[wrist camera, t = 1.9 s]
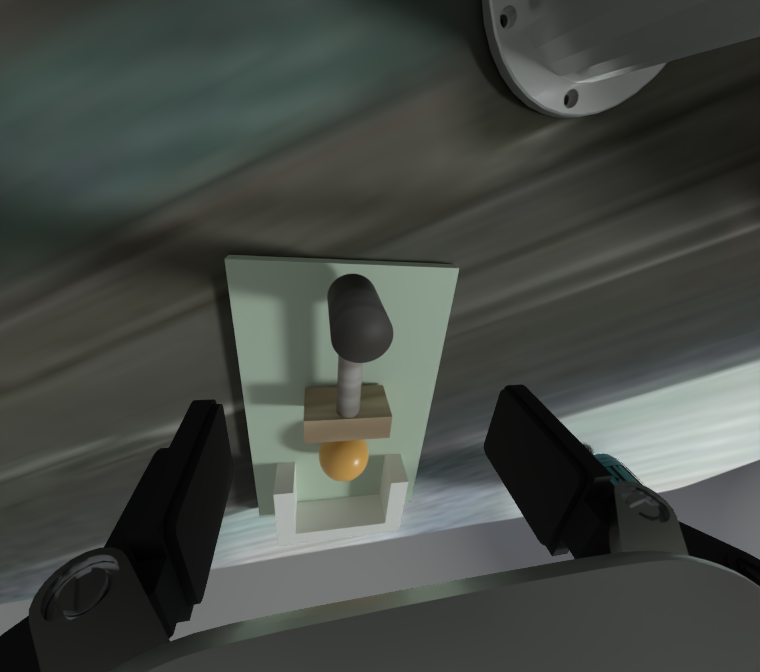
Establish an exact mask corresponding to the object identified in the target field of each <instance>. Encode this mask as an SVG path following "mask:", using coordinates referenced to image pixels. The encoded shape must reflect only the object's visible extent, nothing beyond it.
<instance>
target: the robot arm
mask: <svg viewBox="0 0 760 672" xmlns="http://www.w3.org/2000/svg"><path fill="white" fill-rule="evenodd" d="M482 8H483V19H484V27H485V31H486V35H487V39H488V43H489V47H490V52H491V54H492V56H493V59H494V61H495V63H496V66H497V68H498V70H499V73H500V75H501V76H502V78H503V79H504V81H505V82H506V84H507V85H508V87H509V88H510V89H511V91H512V92H513V93H514V94H515V95H516V96H517V97H518V98H519V99H520V100H521V101H522V102H523V103H525V104H526V105H527V106H528V107H530V108H532V109H534V110H536V111H538V112H540V113H542V114H544V115H549V116H553V117H558V118H572V117H582V116H587V115H592V114H597V113H600V112H603V111H605V110H607V109H610V108H612V107H615V106H617V105H619V104H620V103H622V102H623V101H625V100H627V99H628V98H630V97H631V96H633V95H634V94H636V93H637V92H638V91H639V90H641V89H642V88H643V87H644V86H645V85H646V84H647V83H649V82H650V81H651V80H652V79H653V78H654V77H655V76H656V75H657V74H658V73H659V72H660V71H661V70H662V69H663V67H664V66H665V65H666V64H667V63H668V62H669V61H673V60H677V59H680V58H684V57H688V56H691V55H695V54H699V53H702V52H706V51H709V50H713V49H717V48H720V47H724V46H728V45H731V44H735V43H739V42H742V41H746V40H750V39H753V38H757V37H760V0H482ZM500 18H501V19H502V20H503V27H502V26H501V23H500ZM484 451H485V454H486V456H487V457H488V459H489V460H490V462H491V464H492V465H493V467H494V469H495V470H496V472H497V473H498V475H499V477H500V478H501V480H502V482H503V483H504V485H505V486H506V488H507V490H508V491H509V493H510V495H511V496H512V498H513V500H514V501H515V503H516V504H517V506H518V508H519V509H520V511H521V513H522V514H523V516H524V517H525V519H526V521H527V522H528V524H529V526H530V527H531V529H532V530H533V532H534V534H535V535H536V537H537V539H538V540H539V541H540V543H541V544H543V545H545V546H546V547H547V549H548V550H549V552H550V554H551V555H552V556H556V555H561V554H567V553H568V551H569V550H570V552H571V553H572V555H573V556H574V559H573V560H567V561H562V562H556V563H551V564H545V565H539V566H533V567H528V568H522V569H516V570H511V571H506V572H499V573H494V574H488V575H483V576H477V577H472V578H466V579H461V580H455V581H450V582H444V583H439V584H433V585H428V586H422V587H417V588H411V589H406V590H401V591H395V592H390V593H385V594H380V595H374V596H369V597H363V598H358V599H353V600H347V601H343V602H337V603H331V604H326V605H321V606H316V607H310V608H305V609H300V610H295V611H291V612H285V613H281V614H275V615H271V616H266V617H261V618H256V619H252V620H247V621H242V622H237V623H233V624H228V625H225V626H220V627H217V628H213V629H209V630H205V631H201V632H197V633H193V634H191V635H188V636H185V637H182V638H179V639H177V640H173V641H171V642H170V640H169V638H170V637H171V636H172V635H173V634H174V630H175V627H176V623H178V622H184V621H189V620H190V617H191V613H192V610H193V606H194V604H199V603H201V601H202V599H203V596H204V591H205V588H206V584H207V580H208V576H209V572H210V568H211V564H212V560H213V555H214V551H215V547H216V543H217V539H218V535H219V531H220V527H221V523H222V519H223V515H224V511H225V507H226V503H227V499H228V495H229V491H230V487H231V483H232V478H233V462H232V457H231V451H230V445H229V439H228V433H227V427H226V421H225V415H224V409H223V405H222V404H216V401H215V400H214V399H213V400H194V401H193V402H192V403H191V405H190V407H189V409H188V411H187V413H186V415H185V417H184V419H183V421H182V423H181V425H180V427H179V429H178V431H177V433H176V435H175V437H174V439H173V441H172V443H171V445H170V447H169V448H161V449H159V450H157V451H156V453H155V454H154V456H153V458H152V459H151V461H150V463H149V465H148V467H147V469H146V470H145V472H144V474H143V476H142V478H141V480H140V482H139V483H138V485H137V487H136V489H135V491H134V493H133V495H132V496H131V498H130V500H129V502H128V504H127V506H126V507H125V509H124V511H123V513H122V515H121V517H120V519H119V520H118V522H117V524H116V526H115V528H114V530H113V532H112V533H111V535H110V537H109V539H108V541H107V543H106V544H105V546H104V548H98V549H94V550H91V551H88V552H85V553H83V554H81V555H79V556H77V557H75V558H73V559H71V560H70V561H69V562H67V563H66V564H65V565H63V566H62V567H60V568H59V569H58V570H56V571H55V572H54V573H53V574H52V575H51V576H50V577H49V578H48V579H47V580H46V581H45V582H44V584H43V585H42V586H41V588H40V589H39V591H38V592H37V593H36V595H35V596H34V599H33V601H32V603H31V606H30V608H29V616H27V617H26V618H25V619H23V620H22V621H21V622H20V623H18V624H16V625H15V626H14V627H12V628H11V629H9V630H8V631H7V632H5V633H4V634H2V635H1V636H0V672H760V560H759V559H757V558H755V557H754V556H752V555H750V554H748V553H746V552H744V551H742V550H740V549H738V548H735V547H733V546H731V545H729V544H727V543H725V542H722V541H720V540H718V539H716V538H714V537H712V536H709V535H707V534H705V533H703V532H701V531H699V530H696V529H694V528H692V527H690V526H688V525H686V524H683V523H681V522H679V521H678V519H677V516H676V514H675V512H674V510H673V508H672V507H671V506H670V505H669V504H668V502H667V501H666V500H664V499H663V498H662V497H661V496H660V495H658V494H657V493H656V492H654V491H652V490H651V489H649V488H647V487H645V486H643V485H641V484H638V483H635V482H632V481H621V482H618V483H617V484H616V485H615V486H614V485H613V483H612V482H611V481H610V480H611V478H612V477H613V475H612V474H611V473H610V472H609V471H608V470H607V469H606V468H605V467H604V466H603V465H602V464H601V463H600V462H599V461H598V460H597V459H596V458H595V457H594V455H593V454H592V453H591V452H590V451H589V450H588V449H587V448H586V447H585V446H584V445H583V444H582V443H581V442H580V441H579V440H578V439H577V438H576V437H575V436H574V435H573V434H572V433H571V432H570V431H569V430H568V429H567V428H566V427H565V426H564V425H563V424H562V423H561V422H560V421H559V420H558V419H557V418H556V417H555V416H554V415H553V414H552V413H551V412H550V411H549V410H548V409H547V408H546V407H545V406H544V405H543V404H542V403H541V402H540V401H539V400H538V399H537V398H536V397H535V396H534V395H533V394H532V393H531V392H530V391H529V390H528V388H527V387H525V386H524V385H508V386H506V387H505V388H504V390H502V391H501V392H500V395H499V398H498V401H497V404H496V407H495V411H494V414H493V417H492V420H491V423H490V427H489V430H488V433H487V436H486V440H485V443H484Z"/></svg>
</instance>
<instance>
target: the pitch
mask: <svg viewBox="0 0 760 672" xmlns="http://www.w3.org/2000/svg"><path fill="white" fill-rule="evenodd" d="M224 260H225V267H226V274H227V281H228V289H229V296H230V303H231V311H232V318H233V325H234V332H235V340H236V347H237V354H238V362H239V369H240V376H241V383H242V391H243V398H244V405H245V413H246V420H247V427H248V434H249V442H250V449H251V456H252V464H253V471H254V478H255V485H256V493H257V500H258V507H259V515H260V518H264V517H273V516H275V506H274V496H273V494H274V486H275V478H276V469H277V464H278V463H291V462H295V470H296V490H297V502H306V501H316V500H325V499H335V498H345V497H355V496H364V495H374V494H379V493H380V486H381V478H382V471H383V464H384V456H385V455H393V454H401V458H402V461H403V465H404V468H405V472H406V475H407V478H408V487H407V492H406V497H405V502H411V498H412V493H413V488H414V483H415V478H416V474H417V469H418V464H419V459H420V454H421V450H422V445H423V440H424V435H425V430H426V426H427V421H428V416H429V411H430V406H431V402H432V397H433V392H434V387H435V382H436V378H437V373H438V368H439V363H440V358H441V354H442V349H443V344H444V339H445V334H446V330H447V325H448V320H449V315H450V310H451V306H452V301H453V296H454V291H455V286H456V282H457V277H458V272H459V268H458V267H457V266H456V265H454V264H437V263H413V262H390V261H366V260H342V259H318V258H294V257H271V256H247V255H228V256H227V257H226V258H225V259H224ZM346 274H359V275H362V276H364V277H366V278H367V279H369V280H370V281H371V282H372V284H373V285H374V287H375V289H376V291H377V294H378V296H379V298H380V300H381V302H382V304H383V307H384V309H385V311H386V313H387V315H388V317H389V320H390V322H391V324H392V327H393V340H392V343H391V345H390V347H389V349H388V350H387V351H386V352H385V353H384V354H383V355H382V356H381V357H379V358H377V359H376V360H373V361H370V362H366V363H363V371H362V384H361V386H372V385H383V387H384V390H385V393H386V397H387V400H388V403H389V407H390V410H391V413H392V423H391V431H390V438H379V439H365V441H366V443H367V446H368V450H369V458H368V463H367V465H366V467H365V469H364V471H363V472H362V473H361V474H360V475H359V476H358V477H356V478H355V479H353V480H350V481H346V482H340V481H335V480H333V479H331V478H329V477H328V476H327V475H326V474H325V473H324V472H323V470H322V468H321V466H320V463H319V450H320V446H321V444H322V442H320V443H305V444H304V423H303V420H304V398H305V388H315V387H337V379H338V354H337V353H336V352H335V350H334V348H333V346H332V343H331V336H330V324H329V313H328V301H327V294H328V290H329V288H330V286H331V284H332V283H333V282H334V281H335V280H336V279H337V278H339V277H340V276H343V275H346Z"/></svg>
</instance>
